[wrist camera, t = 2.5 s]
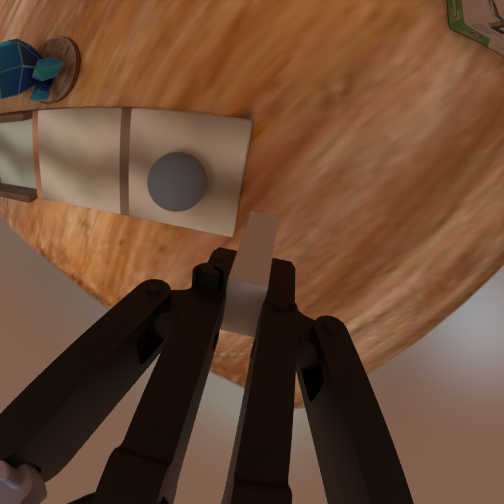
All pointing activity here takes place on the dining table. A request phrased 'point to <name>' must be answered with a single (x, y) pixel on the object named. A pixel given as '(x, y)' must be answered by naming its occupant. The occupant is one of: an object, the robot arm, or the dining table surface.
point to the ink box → (479, 21)
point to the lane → (123, 160)
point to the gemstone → (38, 69)
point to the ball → (177, 181)
